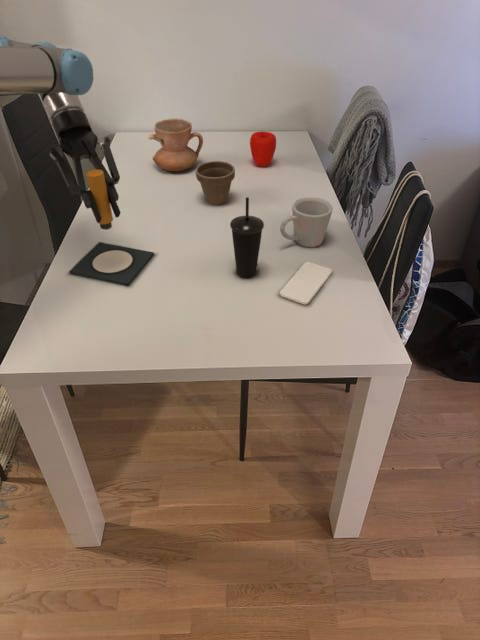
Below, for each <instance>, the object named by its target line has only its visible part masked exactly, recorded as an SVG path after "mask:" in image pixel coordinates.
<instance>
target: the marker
mask: <svg viewBox="0 0 480 640" xmlns="http://www.w3.org/2000/svg"><path fill="white" fill-rule="evenodd" d="M85 175H86V179H87V184H88V188H89V189H88V190H91V193H92V195H93V198H94V200H95V202H96V205H97V207H98V210H99V212H100V215H101V217H102V219H101V222H98V223H97V224H98V225H99V227H100V229H101V230H110V229H111V228H112V227H113V224H112V222H113V221H114V217H113V211H112V207H111V205H110V202H109V197H108V192H107V187H106V182H105V177H104V172H103V171H102V170H99V169H95V168H94V169H90V170H88V171H87V172H86V174H85Z"/></svg>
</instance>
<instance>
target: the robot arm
mask: <svg viewBox="0 0 480 640" xmlns="http://www.w3.org/2000/svg"><path fill="white" fill-rule="evenodd" d="M93 84H94V68H93V64H92V62H91V60H90V59H89V57H88V56H87V55H86V54H85V53H83V52H82V51H79V50H74V49H73V48H63V47H62V48H61V47H57V46H56V44H53V43H52V42H48V41H46V42H42V41H40V42H39V41H38V42H35V43H28V42H22V41H16V40H12V39H10V38H8V37H7V36H1V35H0V97H6V96H23V95H38V94H39V96H40V98H41V101H42V103H43V105H44V108H45V110H46V113H47V116H48V118H49V120H50V122H51V125H52V128H53V130H54V133H55V135H56V139H57V141H58V145H57V146H56V147H55V148H54V147H53V148H50V149H49V158H50V159H51V160H52V161H53V162H54V163H55V164H56V165H57V167H58V170H59V172H60V174H61V176H62V178H63V180H64V183H65V185H66V186H67V188H68V191H69V193H70V194H71V195H79V196H80V197H81V199H82V202H83V204H84V207H85V208H86V209H91V212H92V214H93V216H94V218H95V221H96V224H99V223H98V222H101V219H102V217H101V215H100V212H99V210H98V207H97V205H96V202H95V200H94V198H93V195H92V193H91V190H90V189H87V187H86V186H87V185H86V182H85V181H86V180H85V177H84V172H83V167H82V160H84V159H88V161H89V162H90V164H92V166H93V168H94V169H99V170H102V171H103V172H104V177H105V182H106V187H107V192H108V197H109V202H110V207H111V211H112V213H113V214H114V217H115V218H120V216H121V213H122V212H121V210H120V208H119V205H118V203H117V202H118V201H119V198H120V197H119V193H118V191H117V188H116V187H115V185H118V184H119V182H120V179H121V176H120V173H119V170H118V167H117V164H116V161H115V158H114V155H113V153H112V150H111V138H110V137H108V136H106V137H104V138H101V137H98V135H97V134H95V133H94V131H93V129H92V126H91V124H90V121H89V119H88V117H87V114H86V112H85V108H84V107H83V104H82V102H81V99H80V97H79V96H83V95H85V94H87V93H88V92H89V91H90V90H91V89H92V86H93ZM97 145H98V146H99V148H100V149H101V150H102V153H103V156H104V159H105V162H106V165H107V168H108V170H107V169H106V167H105V166H104V163H103V162H102V161H101V159H100V157H99V156H98V152H97V151H96V149H97ZM63 153H64V154H65V155H67V156H68V157H69V158H71V160H72V165H73V168H74V172H75V177H76V182H77V185H76V182H75V181H74V179H73V176H72V174H71V172H70V170H69V167H68V166H67V164H66V162H65V160H64V158H63ZM108 171H109V172H108Z"/></svg>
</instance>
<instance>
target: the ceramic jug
mask: <svg viewBox="0 0 480 640" xmlns="http://www.w3.org/2000/svg"><path fill="white" fill-rule="evenodd" d="M153 127H154V129H153V130H154V132H155V134H154V133H151V134H148V135H147V138H148V140H154V141H156V142H158V143H159V144H160V145H161V147H160V148H159V149H158V150H157V151H156V152H155V154H154V155H153V156H152V161H153V162H154V164H155V165H156V166H157V167H158V168H160V169H161V170H163V171H168V172H181V171H186V170H188V169H191V168H193V166H195V165H196V164H197V161H198V158H199V155H200V152H201V150H202V148H203V145H204V144H203V143H204V137H203V135H202V134H201V133H200V132H198V131H193V132H192V129H193V125H192V122H191V121H190V120H188V119H183V118H166V119H162V120H159V121H157V122H155V123H154V125H153ZM195 137H197V139H198V146H197V148H196V151H195V150H194V149H193V148H191V147H189V146H188V144H189V142H190V141H191V140H192V139H193V138H195Z"/></svg>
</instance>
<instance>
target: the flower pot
mask: <svg viewBox="0 0 480 640" xmlns="http://www.w3.org/2000/svg"><path fill="white" fill-rule="evenodd" d="M194 171H195V177H196V180H197V181H198V182H199V183H200V187H201V189H202V192H203V195H204V199H205V200H206V202H207V203H208V204H209V205H216V206H217V205H222V204H226V202H228V199H229V196H230V195H229V194H230V190H231V186H232V182H233V181H234V179H235V177H236V176H235V175H236V169H235V166H234V165H232V163H229V162H227V161H221V160H212V161H207V162H204V163H201V164H199V165H197V167H196V168H195V170H194Z"/></svg>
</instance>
